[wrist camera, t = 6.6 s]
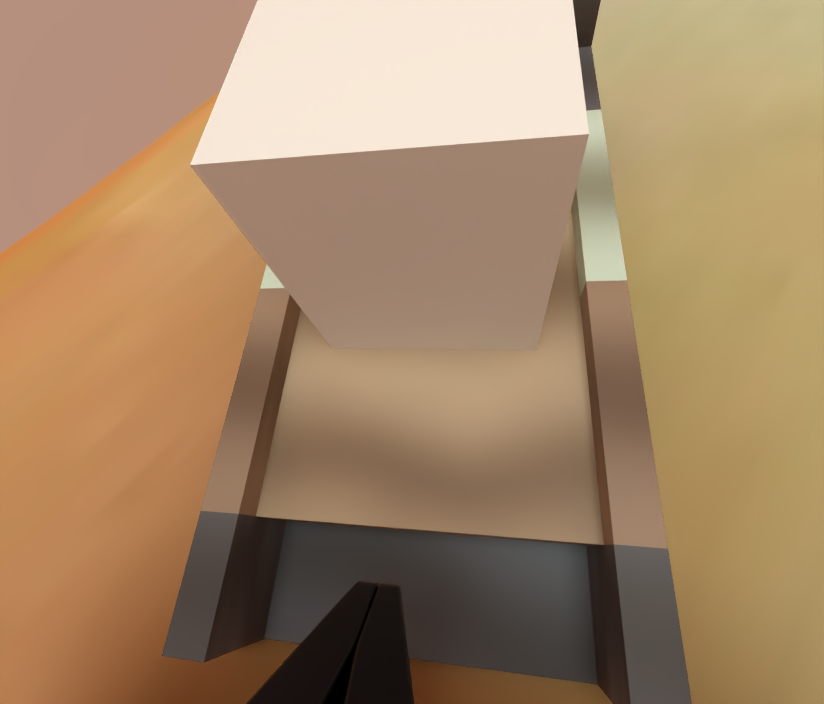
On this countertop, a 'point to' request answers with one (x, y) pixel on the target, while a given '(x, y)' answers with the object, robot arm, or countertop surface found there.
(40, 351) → the countertop surface
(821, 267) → the countertop surface
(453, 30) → the block
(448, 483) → the box
